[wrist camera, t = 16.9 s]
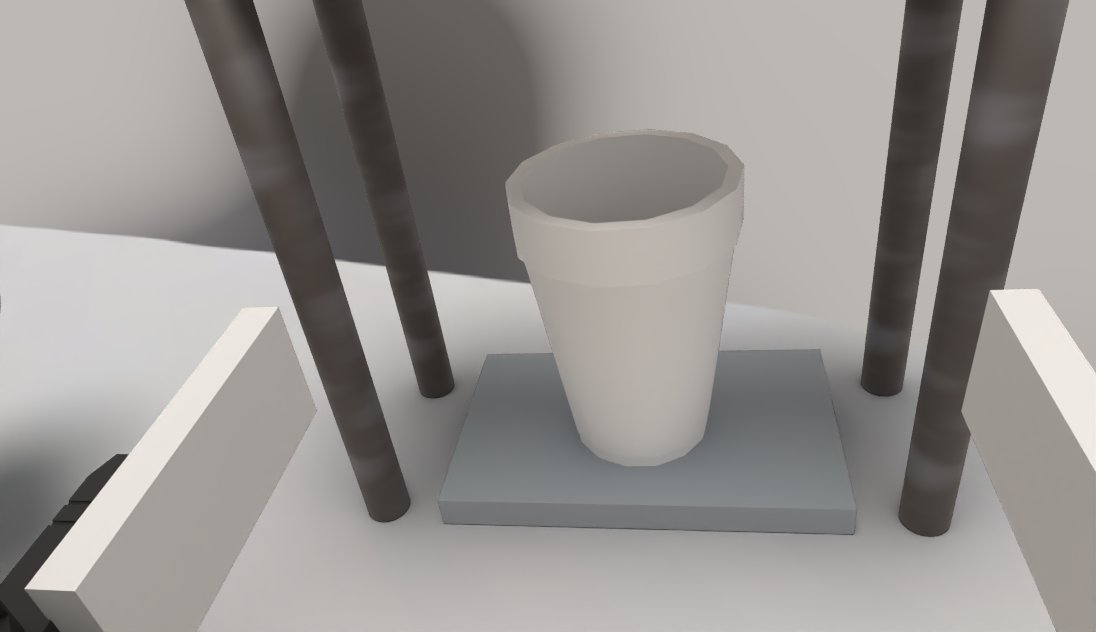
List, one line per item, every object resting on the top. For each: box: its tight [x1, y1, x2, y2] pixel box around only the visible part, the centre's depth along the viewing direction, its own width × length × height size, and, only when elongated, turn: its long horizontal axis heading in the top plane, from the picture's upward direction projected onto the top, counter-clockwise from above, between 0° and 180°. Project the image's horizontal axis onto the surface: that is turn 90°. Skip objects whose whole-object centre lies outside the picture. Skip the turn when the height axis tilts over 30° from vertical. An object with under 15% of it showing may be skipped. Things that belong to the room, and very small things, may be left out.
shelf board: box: [438, 349, 857, 534], centre depth 39 cm, size 18×11×2 cm, turn 82°
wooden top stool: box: [185, 0, 1069, 536], centre depth 32 cm, size 26×11×27 cm, turn 82°
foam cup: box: [505, 129, 744, 467], centre depth 35 cm, size 10×9×13 cm
